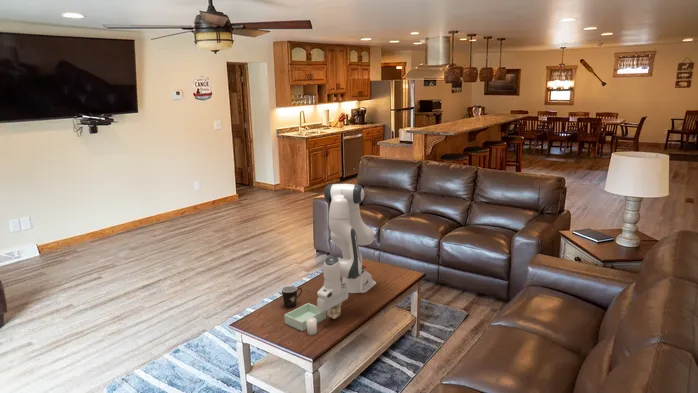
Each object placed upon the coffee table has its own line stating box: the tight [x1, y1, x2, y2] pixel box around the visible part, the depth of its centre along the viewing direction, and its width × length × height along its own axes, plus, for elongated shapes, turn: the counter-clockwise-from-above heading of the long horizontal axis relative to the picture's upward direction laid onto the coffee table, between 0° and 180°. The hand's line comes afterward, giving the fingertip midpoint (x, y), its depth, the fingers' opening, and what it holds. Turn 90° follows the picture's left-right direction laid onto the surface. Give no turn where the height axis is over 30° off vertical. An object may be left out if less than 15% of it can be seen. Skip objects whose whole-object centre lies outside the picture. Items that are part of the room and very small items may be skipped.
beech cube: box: [326, 305, 342, 320], centre depth 250 cm, size 5×5×5 cm
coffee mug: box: [281, 285, 303, 309], centre depth 267 cm, size 12×9×10 cm
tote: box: [283, 302, 327, 332], centre depth 249 cm, size 17×13×5 cm
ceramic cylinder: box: [306, 317, 318, 336], centre depth 238 cm, size 5×5×7 cm
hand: (333, 312), depth 250 cm, fingers closed on beech cube, 5 cm apart
